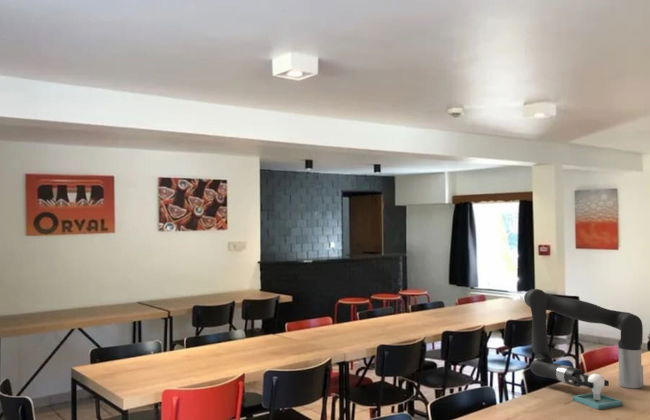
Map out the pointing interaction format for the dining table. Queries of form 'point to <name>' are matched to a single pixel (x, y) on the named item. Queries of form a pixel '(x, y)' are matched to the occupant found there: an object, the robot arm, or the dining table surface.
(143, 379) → the dining table surface
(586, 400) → the tray
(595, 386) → the lightbulb
